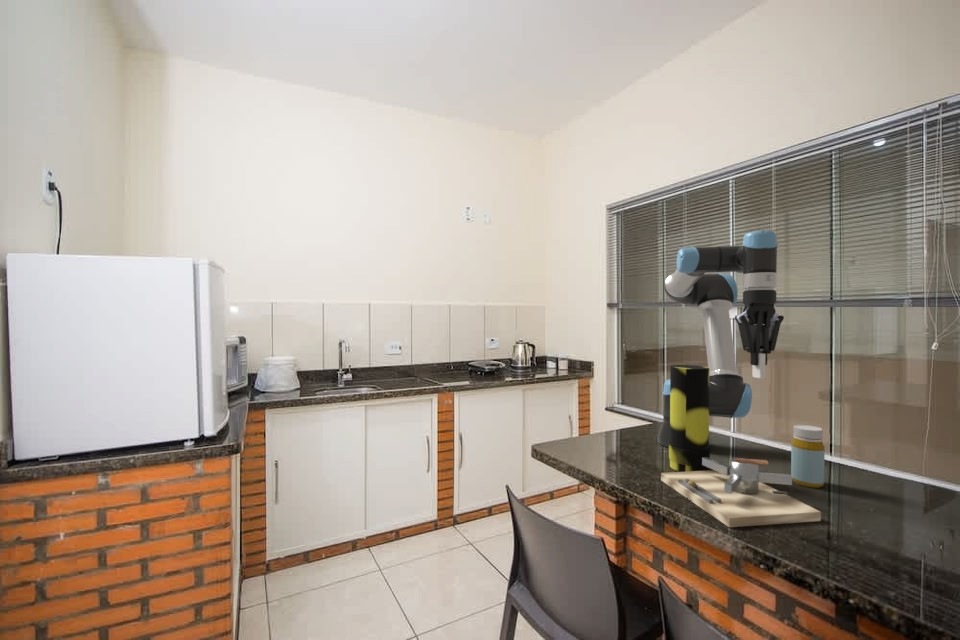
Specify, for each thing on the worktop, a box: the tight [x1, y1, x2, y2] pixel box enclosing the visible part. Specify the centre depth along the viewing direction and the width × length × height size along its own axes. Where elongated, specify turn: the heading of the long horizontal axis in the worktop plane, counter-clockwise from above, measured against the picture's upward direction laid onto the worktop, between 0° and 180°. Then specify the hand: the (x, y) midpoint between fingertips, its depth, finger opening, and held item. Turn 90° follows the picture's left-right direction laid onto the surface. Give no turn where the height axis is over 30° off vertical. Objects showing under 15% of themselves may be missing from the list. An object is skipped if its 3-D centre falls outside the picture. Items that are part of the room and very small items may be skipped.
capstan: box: [702, 457, 793, 495], centre depth 104 cm, size 17×20×7 cm
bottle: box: [790, 424, 826, 489], centre depth 113 cm, size 7×7×15 cm
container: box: [668, 364, 711, 472], centre depth 124 cm, size 11×11×30 cm
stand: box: [660, 469, 822, 528], centre depth 104 cm, size 26×23×4 cm
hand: (758, 377), depth 113 cm, fingers closed
